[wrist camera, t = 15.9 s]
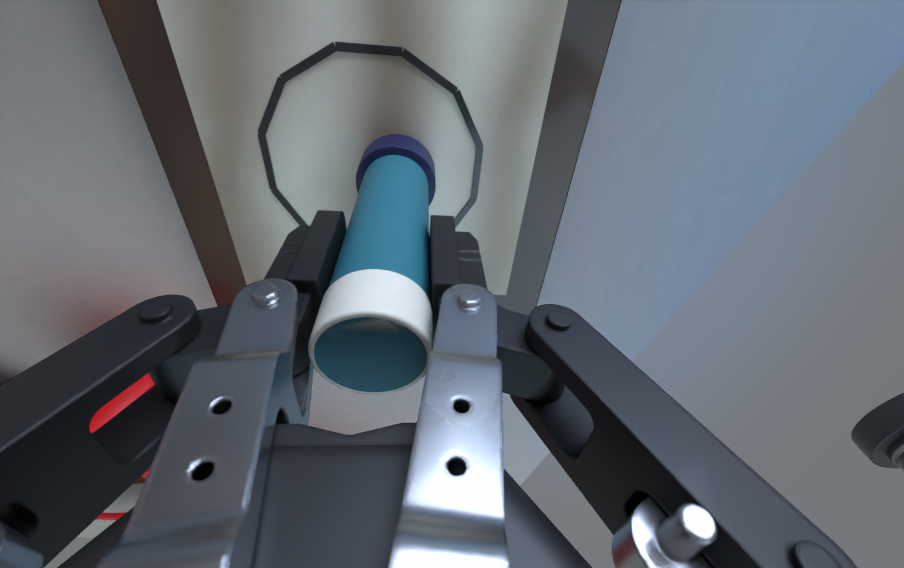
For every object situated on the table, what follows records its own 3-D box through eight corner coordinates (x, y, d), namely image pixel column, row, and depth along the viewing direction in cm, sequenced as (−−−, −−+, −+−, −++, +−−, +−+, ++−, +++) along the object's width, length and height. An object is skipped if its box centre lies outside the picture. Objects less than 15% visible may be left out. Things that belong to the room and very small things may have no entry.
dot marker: (437, 136, 16) (449, 303, 8) (433, 207, 18) (440, 402, 10) (357, 131, 16) (281, 300, 7) (362, 204, 17) (307, 402, 9)
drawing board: (632, -88, 13) (651, -94, 12) (528, 307, 24) (533, 322, 23) (62, -155, 12) (24, -170, 10) (228, 300, 23) (218, 316, 21)
